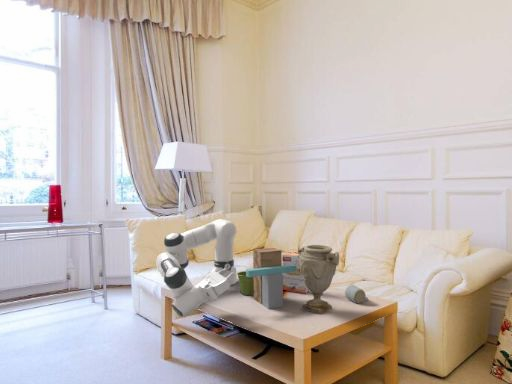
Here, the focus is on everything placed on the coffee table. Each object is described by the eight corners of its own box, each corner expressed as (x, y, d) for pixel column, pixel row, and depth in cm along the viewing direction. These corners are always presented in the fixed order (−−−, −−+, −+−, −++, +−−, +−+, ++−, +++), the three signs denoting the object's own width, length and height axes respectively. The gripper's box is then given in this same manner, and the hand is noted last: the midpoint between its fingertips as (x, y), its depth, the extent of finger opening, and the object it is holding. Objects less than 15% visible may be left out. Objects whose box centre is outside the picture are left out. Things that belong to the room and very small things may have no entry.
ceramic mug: (354, 304, 181) (355, 289, 181) (344, 300, 189) (344, 285, 189) (371, 302, 186) (371, 287, 186) (361, 297, 193) (361, 283, 193)
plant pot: (262, 293, 203) (262, 272, 203) (247, 298, 195) (247, 277, 194) (247, 289, 211) (247, 269, 211) (232, 293, 203) (232, 273, 202)
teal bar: (246, 275, 177) (246, 269, 177) (293, 270, 188) (293, 264, 188) (248, 277, 175) (248, 271, 175) (296, 271, 185) (296, 265, 185)
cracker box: (282, 291, 207) (281, 254, 207) (286, 288, 212) (286, 252, 212) (305, 294, 200) (305, 255, 200) (309, 291, 206) (309, 254, 205)
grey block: (262, 304, 183) (261, 272, 183) (276, 302, 187) (276, 271, 186) (268, 308, 177) (268, 275, 177) (283, 306, 180) (282, 274, 180)
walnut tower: (253, 299, 193) (253, 249, 192) (274, 295, 198) (273, 247, 197) (261, 303, 185) (260, 252, 184) (282, 300, 190) (281, 250, 189)
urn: (350, 310, 173) (350, 247, 173) (327, 320, 161) (326, 252, 160) (310, 299, 191) (309, 242, 190) (286, 307, 178) (285, 246, 178)
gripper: (203, 289, 178) (226, 272, 183) (216, 301, 159) (241, 281, 164) (196, 278, 176) (220, 261, 181) (209, 289, 158) (234, 270, 162)
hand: (230, 271), depth 172 cm, fingers open, 8 cm apart
